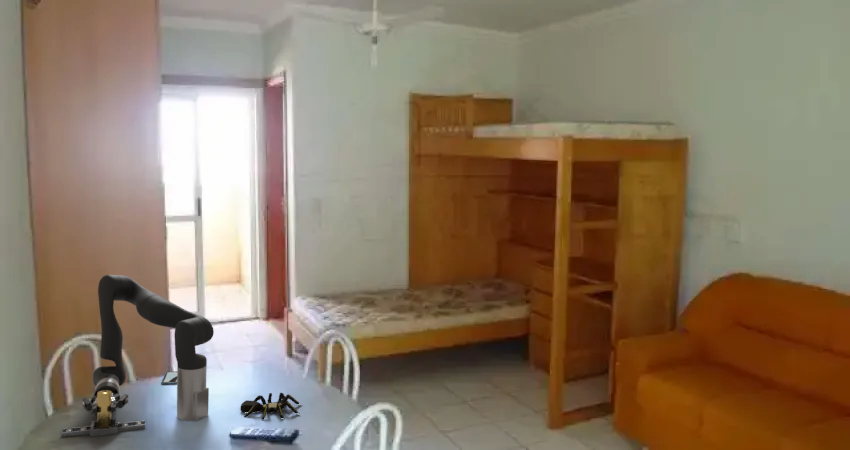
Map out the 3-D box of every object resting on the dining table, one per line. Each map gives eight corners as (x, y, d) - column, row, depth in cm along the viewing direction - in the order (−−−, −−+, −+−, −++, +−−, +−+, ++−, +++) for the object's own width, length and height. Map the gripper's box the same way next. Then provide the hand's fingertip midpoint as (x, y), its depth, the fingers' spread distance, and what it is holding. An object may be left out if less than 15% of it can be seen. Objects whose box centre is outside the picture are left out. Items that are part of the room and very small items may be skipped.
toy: (301, 421, 225) (301, 407, 224) (237, 421, 222) (237, 407, 222) (304, 402, 242) (304, 389, 242) (244, 402, 240) (245, 389, 239)
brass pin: (114, 425, 210) (114, 391, 209) (103, 429, 207) (103, 395, 206) (104, 422, 212) (104, 389, 211) (94, 427, 208) (94, 393, 207)
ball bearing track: (145, 421, 218) (145, 415, 217) (145, 430, 211) (145, 424, 210) (63, 429, 208) (63, 423, 208) (60, 439, 201) (60, 433, 201)
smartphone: (185, 371, 268) (181, 382, 254) (185, 373, 268) (181, 385, 254) (165, 371, 266) (160, 383, 252) (165, 373, 267) (160, 385, 252)
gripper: (83, 383, 219) (78, 401, 203) (130, 379, 224) (129, 397, 209) (83, 405, 220) (78, 425, 204) (130, 400, 225) (129, 420, 209)
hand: (103, 411), depth 206 cm, fingers closed on brass pin, 4 cm apart
